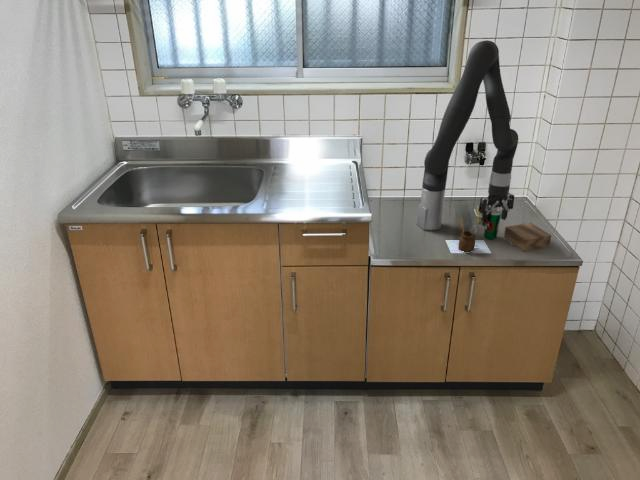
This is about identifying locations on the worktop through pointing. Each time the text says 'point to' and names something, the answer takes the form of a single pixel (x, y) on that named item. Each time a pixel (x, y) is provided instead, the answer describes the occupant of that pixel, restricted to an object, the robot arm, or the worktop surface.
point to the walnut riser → (527, 236)
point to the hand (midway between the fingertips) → (494, 220)
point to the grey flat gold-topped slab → (478, 216)
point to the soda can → (492, 224)
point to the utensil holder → (466, 240)
